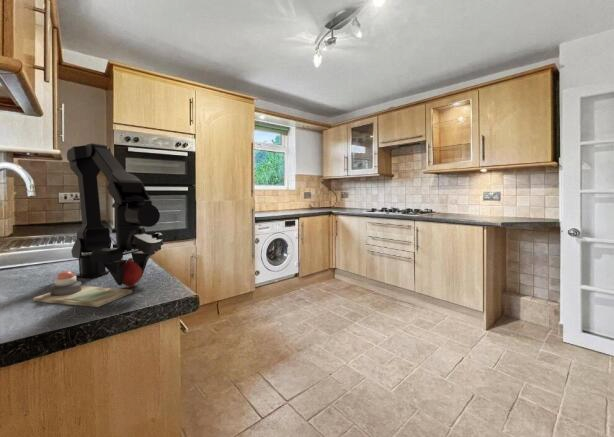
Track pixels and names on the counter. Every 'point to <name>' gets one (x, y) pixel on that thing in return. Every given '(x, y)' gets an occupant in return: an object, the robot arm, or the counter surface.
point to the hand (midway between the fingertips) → (130, 281)
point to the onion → (131, 273)
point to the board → (82, 295)
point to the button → (65, 279)
